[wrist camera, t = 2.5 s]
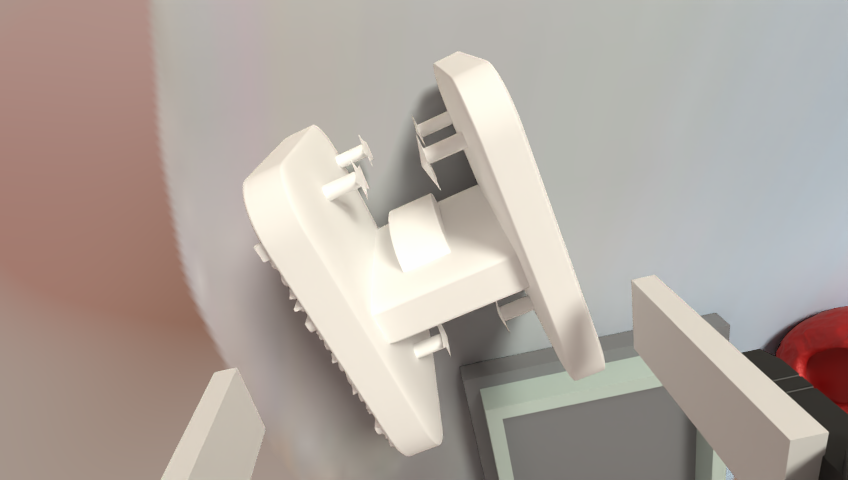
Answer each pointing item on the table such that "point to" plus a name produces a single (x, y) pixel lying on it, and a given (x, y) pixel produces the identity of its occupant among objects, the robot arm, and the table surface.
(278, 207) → the cable organizer
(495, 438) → the grey green tray
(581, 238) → the table surface
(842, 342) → the red tomato
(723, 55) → the table surface
